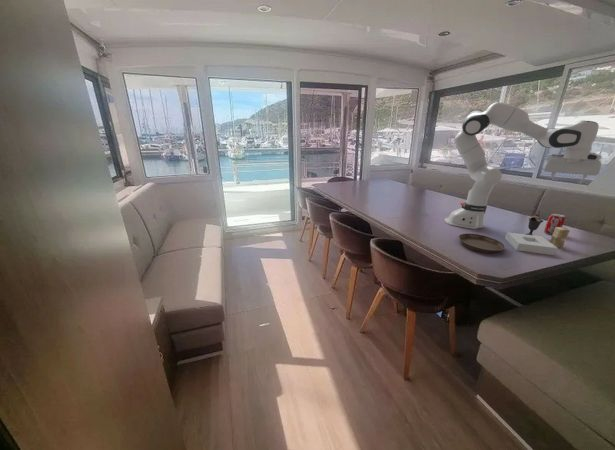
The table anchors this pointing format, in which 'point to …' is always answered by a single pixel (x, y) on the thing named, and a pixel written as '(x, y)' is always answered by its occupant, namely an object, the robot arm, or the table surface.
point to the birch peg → (559, 236)
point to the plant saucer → (481, 243)
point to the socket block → (531, 243)
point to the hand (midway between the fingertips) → (566, 182)
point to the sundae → (534, 223)
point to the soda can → (554, 223)
